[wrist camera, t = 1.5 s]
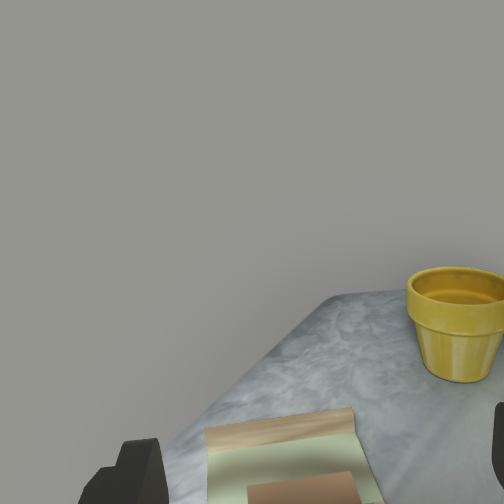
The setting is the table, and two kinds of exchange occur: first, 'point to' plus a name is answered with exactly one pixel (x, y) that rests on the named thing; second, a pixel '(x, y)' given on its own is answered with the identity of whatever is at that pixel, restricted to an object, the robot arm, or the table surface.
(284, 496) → the walnut block
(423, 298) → the plant pot
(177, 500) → the table surface
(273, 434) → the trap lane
